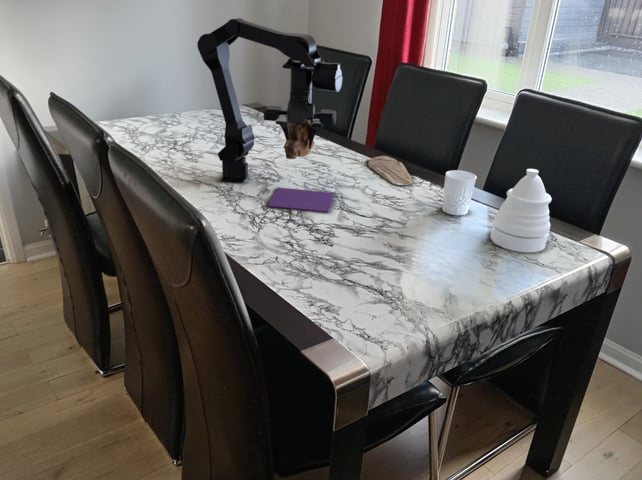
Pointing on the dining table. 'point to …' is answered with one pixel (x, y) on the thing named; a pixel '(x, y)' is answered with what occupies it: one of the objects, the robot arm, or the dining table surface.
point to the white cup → (458, 192)
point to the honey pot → (523, 216)
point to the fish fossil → (390, 170)
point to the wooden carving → (298, 140)
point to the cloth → (302, 200)
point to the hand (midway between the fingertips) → (299, 147)
